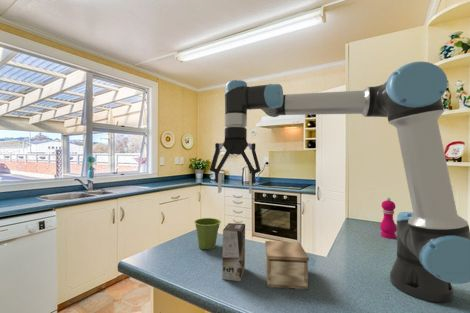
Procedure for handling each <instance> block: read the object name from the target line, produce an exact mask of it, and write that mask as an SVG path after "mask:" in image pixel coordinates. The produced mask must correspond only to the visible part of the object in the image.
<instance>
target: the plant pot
mask: <svg viewBox="0 0 470 313" xmlns="http://www.w3.org/2000/svg"><path fill="white" fill-rule="evenodd" d="M193 223H194V224H195V229H196V235H197V241H198V248H199V249H201V250H212V249H214V248H215V247H216V244H217V240H218V239H217V238H218V233H219V228H220V225H221V223H222V221H221V220H220V219H218V218H212V217H203V218H197V219H195V220H194V222H193Z"/></svg>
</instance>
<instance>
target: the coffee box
mask: <svg viewBox="0 0 470 313" xmlns="http://www.w3.org/2000/svg"><path fill="white" fill-rule="evenodd" d="M221 259H222V264H221V265H222V266H221V267H222V269H221V270H222V272H221V273H222V274H221V279H222V280H228V281H234V282H235V281H236V282H241V281H242V277H243V274H244V272H245V268H246V265H245V264H246V223H239V222H237V223H236V222H233V223H231V222H229V223H227V224H226V226H225V227H224V228H223V230H222V258H221Z"/></svg>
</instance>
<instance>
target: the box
mask: <svg viewBox="0 0 470 313" xmlns="http://www.w3.org/2000/svg"><path fill="white" fill-rule="evenodd" d="M308 263H309V261H296V260H277V259H267V253H266V252H265V273H266V274H265V275H266V283H267V286H268V287H267V288H273V287H276V289H277V288H278V289H289V288H295V290H305V289H309V288H308V287H309V286H308V283H309V282H308V279H309V270H308V269H309V267H308V266H309V264H308Z"/></svg>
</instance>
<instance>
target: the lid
mask: <svg viewBox="0 0 470 313" xmlns="http://www.w3.org/2000/svg"><path fill="white" fill-rule="evenodd" d="M264 244H265V254H266V253H267V259H277V260H296V261H307V262H309V260H310V258H309V256H308V254H307V253H306V251H305V249H304V248H303V246H302V243H300V242H299V241H298V242H297V241H296V242H295V241H280V240H279V241H277V240H276V241H275V240H265V242H264Z"/></svg>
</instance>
